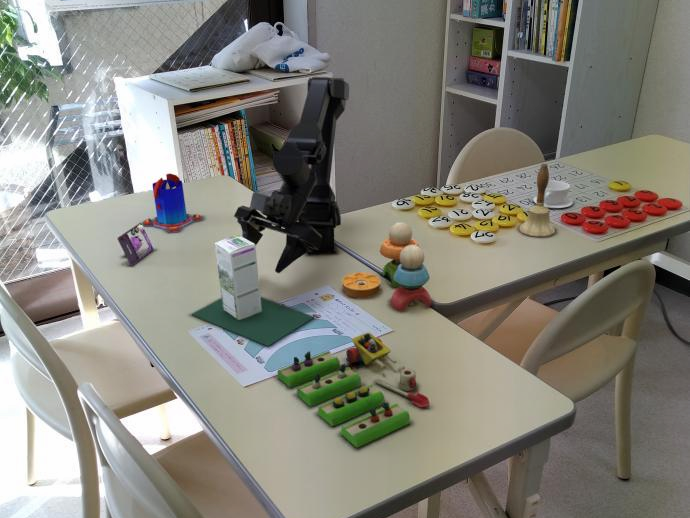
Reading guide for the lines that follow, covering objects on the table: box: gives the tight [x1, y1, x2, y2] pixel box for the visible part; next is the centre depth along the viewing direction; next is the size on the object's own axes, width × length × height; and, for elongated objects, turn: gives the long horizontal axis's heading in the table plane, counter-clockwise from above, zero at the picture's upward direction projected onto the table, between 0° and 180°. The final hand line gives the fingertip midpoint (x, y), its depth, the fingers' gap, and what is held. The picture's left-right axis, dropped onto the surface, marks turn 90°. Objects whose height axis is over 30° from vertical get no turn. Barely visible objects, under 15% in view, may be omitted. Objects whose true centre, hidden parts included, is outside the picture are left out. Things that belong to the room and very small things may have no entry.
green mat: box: [191, 297, 315, 348], centre depth 143 cm, size 20×13×1 cm, turn 53°
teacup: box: [532, 179, 574, 209], centre depth 191 cm, size 10×10×5 cm
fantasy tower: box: [142, 173, 203, 234], centre depth 182 cm, size 12×12×12 cm
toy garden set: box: [277, 331, 430, 449], centre depth 121 cm, size 23×19×5 cm
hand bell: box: [518, 163, 556, 238], centre depth 173 cm, size 8×8×16 cm
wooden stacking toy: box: [341, 222, 432, 313], centre depth 147 cm, size 18×17×12 cm
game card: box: [117, 222, 155, 267], centre depth 167 cm, size 7×5×9 cm
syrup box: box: [214, 234, 262, 320], centre depth 141 cm, size 6×6×14 cm
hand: (259, 266), depth 144 cm, fingers open, 9 cm apart
